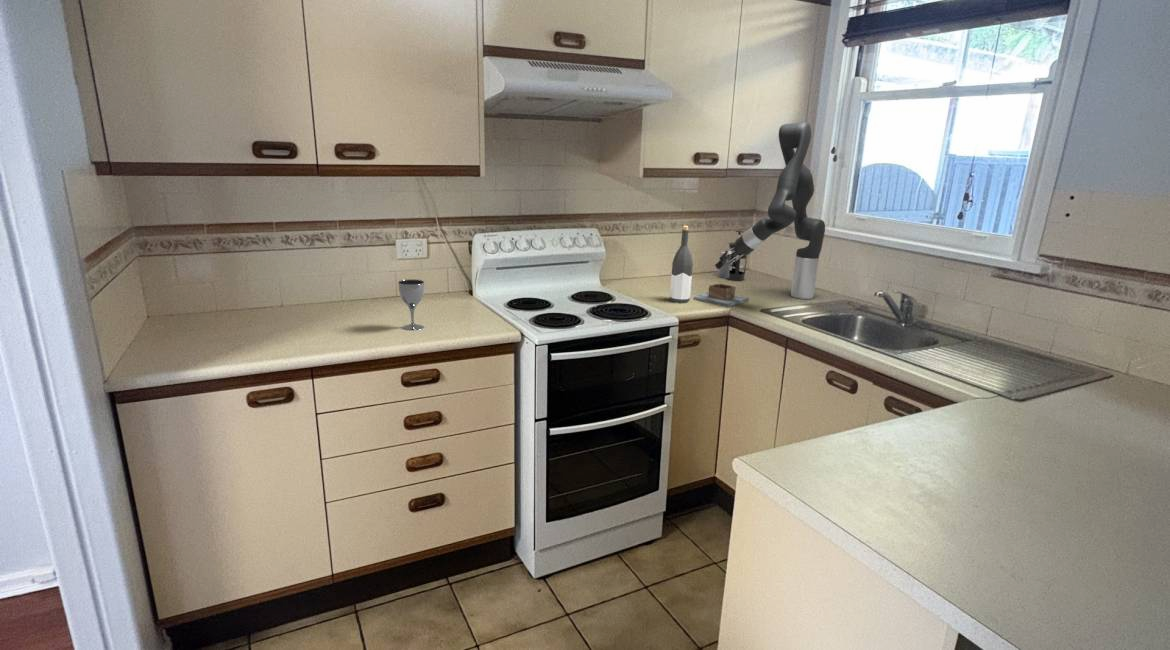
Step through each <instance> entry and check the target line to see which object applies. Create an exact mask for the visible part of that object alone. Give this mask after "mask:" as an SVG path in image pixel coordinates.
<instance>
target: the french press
mask: <svg viewBox="0 0 1170 650" xmlns="http://www.w3.org/2000/svg"><path fill="white" fill-rule="evenodd" d="M734 232H735V233H738V238H739V237H740V236H741V235H742V233H745V231H744V230H735V231H734ZM728 246H729V247H728V249H732V248H733V247H734V248H735V241H734V242H733V241H732V242H728ZM747 258H748V255H744V256H742V257H741V258H740V259H738V260H737V261H734V262H733V263H731V264H730V269H731V270H729V278H724V280H726V279H727V281H730V280H731V281H733V282H744V281H745V280H746V279H745V277H746V265H747ZM743 259H745V261H744V265H743V264H741V260H743ZM740 269H741V270H744V271H741V270H740ZM743 280H744V281H743Z"/></svg>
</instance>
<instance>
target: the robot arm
mask: <svg viewBox="0 0 1170 650" xmlns="http://www.w3.org/2000/svg"><path fill="white" fill-rule="evenodd" d="M811 139H812V128H811V125H810V123H809V122H806V121H803V122H801V121H800V122H792V123H785V124H782V125H781V126H780V127H779V129H778V141H779V146H780V150H781V153H782V156H783V160H784V164H785V166H784V168H783V169H782V170H781V172H780V174H779V176H778V178H777V179H778V180H777V185H776V190H775V193H774V195H773V197H772V200H771V202H769V206H768V208H767V216H768V217H769V218H761V219H760V220H758V221H757V222H756V223H755V224H754V225H753V226H751V227H750V228H748V229H747V230H746V231H744V232H743V233H742V234H740V237H739V236H738V238H737V239H736V240H735V241H734V242H735V248H734V247H733V248H732V249H730V248H729V249H730V250H725V251H724V252H725V253H724V254H723V255H722V256H721V257H720V256H719V259H720V261H719V259H718V262H716V263H715V265H714V266H715V267H716V268H715V269H717V270H718V269H720V268H721V267H722V266H723V265H724V264H726V263H727V262H728V261H730V264H732V263H733V262H734V261H737V260H738V259H740V258H741V257H742V256H744V255H747V256H749V255H751V253H753V252H754V251H755V250H756V249H757V248H759V247H760V246H761V245H762V244H763V243H764V242H765V241H766V240H767V239H768V238H769V237H770V236H772V235H773V234H776V233H777V232H780V231H781V230H784V229H785V228H787V227H789V226H791V225H792V224H793V223H794V232H795V235H796V237H797V239H799V240H802V241H808V245H807V246H804V247H800V248H797V250H796V252H795V259H794V269H793V274H792V275H793V276H792V282H791V283H792V284H791V290H790V296H791V297H793V298H795V299H801V300H802V299H803V300H812V299H814V294H815V287H816V282H817V281H816V280H817V274H818V266H819V260H820V254H821V251H822V248H823V244H824V243H823V242H824V238H825V233H826V224H825V221H824V220H823V219H821V218H820V219H819V218H812V217H808V214H807V206H808V204H809V203H810V201H811V200H812V197H813V196H814V193H815V184H814V178H813V174H812V172H811V171H810V170H809V168H808V167H807V166H806V165H805V164H804V161H805V158H806V156H807V152H808V150H809V146H810V144H811ZM795 149H796V151H795ZM787 201H791V204H792V206H790V205H788V204H786V203H785V202H787ZM730 258H731V259H730ZM740 260H741V259H740Z"/></svg>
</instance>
